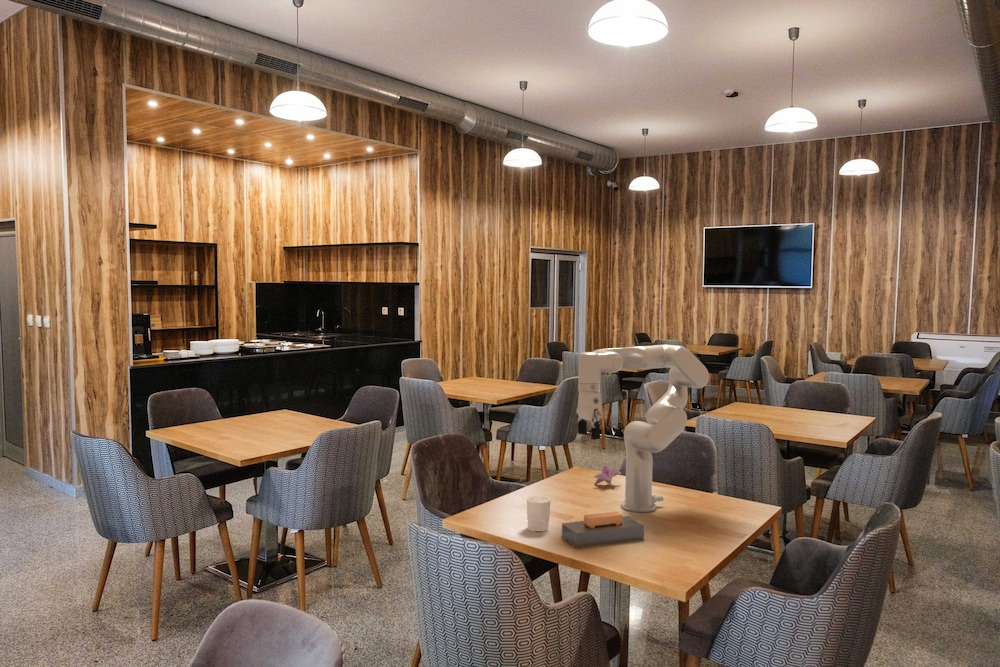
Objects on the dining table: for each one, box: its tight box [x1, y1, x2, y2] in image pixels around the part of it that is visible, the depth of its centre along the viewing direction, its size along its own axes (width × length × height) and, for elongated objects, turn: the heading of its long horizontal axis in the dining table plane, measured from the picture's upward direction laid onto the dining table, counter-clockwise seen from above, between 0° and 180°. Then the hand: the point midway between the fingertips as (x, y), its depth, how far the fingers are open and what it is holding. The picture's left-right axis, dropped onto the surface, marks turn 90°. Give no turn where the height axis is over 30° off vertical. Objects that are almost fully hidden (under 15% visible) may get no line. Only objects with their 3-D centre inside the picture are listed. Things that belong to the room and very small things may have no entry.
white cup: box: [526, 495, 552, 532], centre depth 233 cm, size 8×8×10 cm
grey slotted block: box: [561, 515, 645, 548], centre depth 225 cm, size 24×10×4 cm, turn 110°
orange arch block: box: [583, 511, 623, 529], centre depth 225 cm, size 12×4×8 cm, turn 111°
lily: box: [593, 464, 622, 490], centre depth 285 cm, size 12×12×10 cm
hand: (588, 436), depth 247 cm, fingers open, 9 cm apart
